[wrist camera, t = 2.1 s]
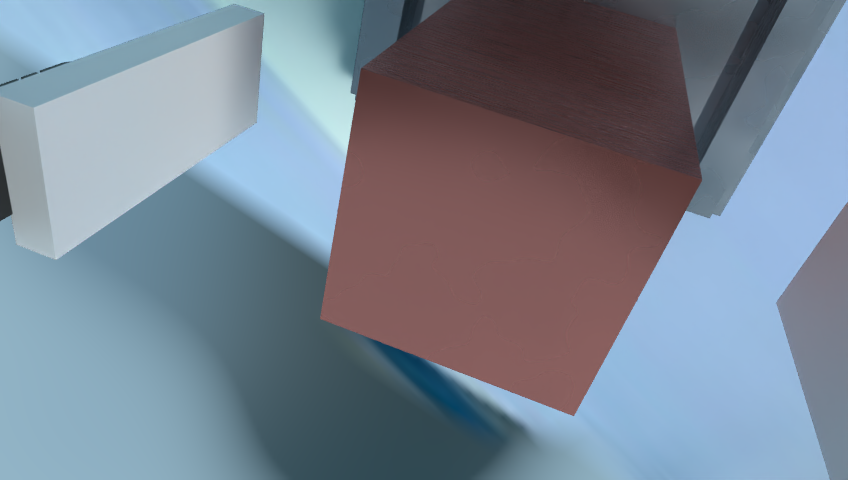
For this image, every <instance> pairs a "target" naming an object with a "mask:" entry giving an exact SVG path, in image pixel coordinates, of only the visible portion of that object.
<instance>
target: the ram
mask: <svg viewBox="0 0 848 480" xmlns="http://www.w3.org/2000/svg"><path fill="white" fill-rule="evenodd" d="M757 2H758V0H425V3H424V8H423V12H422V17H421V22H420V24H419V25H417V26H416V27H415V28H413V29H412V30H411V31H410V32H408V33H407V34H406V35H404V36H403V37H402V38H400V39H399V40H398V41H396V42H395V43H394V44H392V45H391V46H390V47H388V48H387V49H386V50H384V51H383V52H382V53H381V54H379V55H378V56H377V57H375V58H374V59H373V60H371V61H370V62H369V63H367V64H366V65H365V66H363V67H362V68H361V71H360V77H359V84H358V90H357V96H356V102H355V108H354V114H353V120H352V127H351V133H350V139H349V145H348V151H347V157H346V163H345V170H344V176H343V182H342V188H341V194H340V200H339V207H338V213H337V219H336V225H335V231H334V237H333V243H332V250H331V256H330V262H329V268H328V274H327V280H326V286H325V293H324V299H323V305H322V311H321V317H320V319H322V320H325V321H327V322H330V323H333V324H335V325H338V326H340V327H343V328H346V329H348V330H351V331H353V332H356V333H359V334H361V335H364V336H366V337H369V338H372V339H374V340H377V341H379V342H382V343H385V344H387V345H390V346H393V347H395V348H398V349H400V350H403V351H406V352H408V353H411V354H413V355H416V356H419V357H421V358H424V359H426V360H429V361H432V362H434V363H437V364H439V365H442V366H445V367H447V368H450V369H452V370H455V371H458V372H460V373H463V374H465V375H468V376H471V377H473V378H476V379H478V380H481V381H484V382H486V383H489V384H491V385H494V386H497V387H499V388H502V389H505V390H507V391H510V392H512V393H515V394H518V395H520V396H523V397H525V398H528V399H531V400H533V401H536V402H538V403H541V404H544V405H546V406H549V407H551V408H554V409H557V410H559V411H562V412H564V413H567V414H570V415H572V416H574V415H575V413H576V411H577V409H578V407H579V406H580V404H581V402H582V400H583V398H584V396H585V395H586V393H587V391H588V389H589V387H590V385H591V384H592V382H593V380H594V378H595V376H596V374H597V373H598V371H599V369H600V367H601V365H602V363H603V362H604V360H605V358H606V356H607V354H608V352H609V351H610V349H611V347H612V345H613V343H614V341H615V340H616V338H617V336H618V334H619V332H620V330H621V329H622V327H623V325H624V323H625V321H626V319H627V318H628V316H629V314H630V312H631V310H632V308H633V307H634V305H635V303H636V301H637V299H638V297H639V296H640V294H641V292H642V290H643V288H644V286H645V284H646V283H647V281H648V279H649V277H650V275H651V273H652V272H653V270H654V268H655V266H656V264H657V262H658V261H659V259H660V257H661V255H662V253H663V251H664V250H665V248H666V246H667V244H668V242H669V240H670V239H671V237H672V235H673V233H674V231H675V229H676V228H677V226H678V224H679V222H680V220H681V218H682V217H683V215H684V213H685V211H686V209H687V207H688V206H689V204H690V202H691V200H692V198H693V196H694V195H695V193H696V191H697V189H698V187H699V185H700V184H701V182H702V175H701V170H700V164H699V158H698V152H697V147H696V141H695V135H694V129H693V128H694V126H695V124H696V122H697V120H698V118H699V116H700V114H701V112H702V110H703V108H704V106H705V104H706V102H707V100H708V98H709V96H710V94H711V92H712V90H713V88H714V86H715V84H716V82H717V80H718V79H719V77H720V75H721V73H722V71H723V69H724V67H725V65H726V63H727V61H728V59H729V57H730V55H731V53H732V51H733V49H734V47H735V45H736V43H737V41H738V39H739V37H740V35H741V33H742V31H743V29H744V27H745V25H746V23H747V21H748V19H749V17H750V15H751V13H752V11H753V10H754V8H755V6H756V4H757Z"/></svg>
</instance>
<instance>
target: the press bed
mask: <svg viewBox="0 0 848 480" xmlns="http://www.w3.org/2000/svg"><path fill="white" fill-rule="evenodd" d="M845 2H846V0H758V2H757V4H756V6H755V8H754V10H753V11H752V13H751V15H750V17H749V19H748V21H747V23H746V25H745V27H744V29H743V31H742V33H741V35H740V37H739V39H738V41H737V43H736V45H735V47H734V49H733V51H732V53H731V55H730V57H729V59H728V61H727V63H726V65H725V67H724V69H723V71H722V73H721V75H720V77H719V79H718V80H717V82H716V84H715V86H714V88H713V90H712V92H711V94H710V96H709V98H708V100H707V102H706V104H705V106H704V108H703V110H702V112H701V114H700V116H699V118H698V120H697V122H696V124H695V126H694V128H693V129H694V135H695V141H696V147H697V152H698V158H699V164H700V170H701V175H702V182H701V184H700V185H699V187H698V189H697V191H696V193H695V195H694V196H693V198H692V200H691V202H690V204H689V206H688V207H687V209H686V211H689V212H692V213H695V214H698V215H701V216H704V217H707V218H710V217H711V215H712V214H715V215H718V216H720V215H721V213H722V212H723V210H724V208H725V206H726V205H727V203H728V201H729V200H730V198H731V196H732V195H733V193H734V191H735V189H736V188H737V186H738V184H739V183H740V181H741V179H742V177H743V176H744V174H745V172H746V171H747V169H748V167H749V166H750V164H751V162H752V160H753V159H754V157H755V155H756V154H757V152H758V150H759V148H760V147H761V145H762V143H763V142H764V140H765V138H766V136H767V135H768V133H769V131H770V130H771V128H772V126H773V125H774V123H775V121H776V119H777V118H778V116H779V114H780V113H781V111H782V109H783V107H784V106H785V104H786V102H787V101H788V99H789V97H790V96H791V94H792V92H793V90H794V89H795V87H796V85H797V84H798V82H799V80H800V78H801V77H802V75H803V73H804V72H805V70H806V68H807V66H808V65H809V63H810V61H811V60H812V58H813V56H814V55H815V53H816V51H817V49H818V48H819V46H820V44H821V43H822V41H823V39H824V37H825V36H826V34H827V32H828V31H829V29H830V27H831V25H832V24H833V22H834V20H835V19H836V17H837V15H838V14H839V12H840V10H841V8H842V7H843V5H844V3H845ZM424 3H425V0H365V4H364V10H363V17H362V23H361V29H360V36H359V42H358V49H357V55H356V61H355V68H354V74H353V80H352V87H351V93H352V94H355V95H356V96H357V90H358V84H359V77H360V71H361V68H362V67H363V66H365V65H366V64H367V63H369V62H370V61H371V60H373V59H374V58H375V57H377V56H378V55H379V54H381V53H382V52H383V51H384V50H386V49H387V48H388V47H390V46H391V45H392V44H394V43H395V42H396V41H398V40H399V39H400V38H402V37H403V36H404V35H406V34H407V33H408V32H410V31H411V30H412V29H413V28H415V27H416V26H417V25H419V24H420V22H421V17H422V12H423V8H424ZM356 96H355V100H356Z"/></svg>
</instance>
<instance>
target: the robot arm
mask: <svg viewBox="0 0 848 480" xmlns="http://www.w3.org/2000/svg"><path fill="white" fill-rule="evenodd" d="M263 25H264V13H261V12H258V11H255V10H252V9H249V8H246V7H243V6H239V5H236V4H232V5H229V6H227V7H224V8H221V9H218V10H215V11H213V12H210V13H207V14H204V15H201V16H198V17H196V18H193V19H190V20H187V21H184V22H182V23H179V24H176V25H173V26H170V27H167V28H165V29H162V30H159V31H156V32H153V33H151V34H148V35H145V36H142V37H139V38H136V39H134V40H131V41H128V42H125V43H122V44H120V45H117V46H114V47H111V48H108V49H105V50H103V51H100V52H97V53H94V54H91V55H89V56H86V57H83V58H80V59H77V60H74V61H71V62H64V63H60V64H58V65H55V66H52V67H49V68H46V69H43V70H41V71H40V73H36V72H35V73H32V74H29V75H26V76H24V77H21V80H18V79H15V80H12V81H9V82H6V83H4V84H1V85H0V221H1V220H3V219H5V218H6V217H8V216H10V215H11V218H12V224H13V229H14V234H15V239H16V244H17V245H19V246H21V247H24V248H27V249H29V250H32V251H34V252H37V253H39V254H42V255H45V256H47V257H50V258H52V259H55V260H57V259H58V258H59V257H61V256H62V255H64V254H65V253H67V252H68V251H70V250H71V249H73V248H74V247H76V246H77V245H78V244H80V243H81V242H83V241H84V240H86V239H87V238H89V237H90V236H92V235H93V234H95V233H96V232H97V231H99V230H100V229H102V228H103V227H105V226H106V225H108V224H109V223H111V222H112V221H114V220H115V219H116V218H118V217H119V216H121V215H122V214H124V213H125V212H127V211H128V210H130V209H131V208H133V207H134V206H135V205H137V204H138V203H140V202H141V201H143V200H144V199H146V198H147V197H149V196H150V195H152V194H153V193H154V192H156V191H157V190H159V189H160V188H162V187H163V186H165V185H166V184H168V183H169V182H171V181H172V180H173V179H175V178H176V177H178V176H179V175H181V174H182V173H184V172H185V171H187V170H188V169H190V168H191V167H193V166H194V165H195V164H197V163H198V162H200V161H201V160H203V159H204V158H206V157H207V156H209V155H210V154H212V153H213V152H214V151H216V150H217V149H219V148H220V147H222V146H223V145H225V144H226V143H228V142H229V141H231V140H232V139H233V138H235V137H236V136H238V135H239V134H241V133H242V132H244V131H245V130H247V129H248V128H250V127H251V126H252V125H254V124H255V123H257V109H258V95H259V81H260V67H261V53H262V39H263ZM776 303H777V306H778V310H779V313H780V316H781V320H782V323H783V326H784V330H785V333H786V336H787V339H788V343H789V346H790V349H791V353H792V356H793V359H794V362H795V366H796V369H797V372H798V376H799V379H800V382H801V385H802V389H803V392H804V395H805V399H806V402H807V405H808V409H809V412H810V415H811V418H812V422H813V425H814V428H815V432H816V435H817V438H818V441H819V445H820V448H821V451H822V455H823V458H824V461H825V464H826V468H827V471H828V474H829V478H830V480H848V202H847V204H846V205H845V206H844V208H843V209H842V211H841V212H840V213H839V215H838V216H837V218H836V219H835V220H834V222H833V223H832V225H831V226H830V227H829V229H828V230H827V232H826V233H825V235H824V236H823V237H822V239H821V240H820V242H819V243H818V244H817V246H816V247H815V249H814V250H813V251H812V253H811V254H810V256H809V257H808V258H807V260H806V261H805V263H804V264H803V265H802V267H801V268H800V270H799V271H798V273H797V274H796V275H795V277H794V278H793V280H792V281H791V282H790V284H789V285H788V287H787V288H786V289H785V291H784V292H783V294H782V295H781V296H780V298H779V299H778V301H777V302H776Z"/></svg>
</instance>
